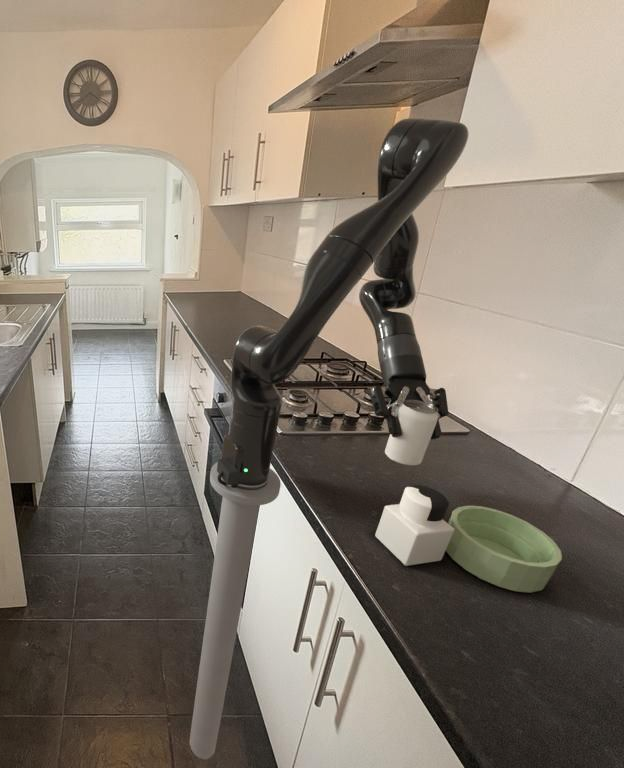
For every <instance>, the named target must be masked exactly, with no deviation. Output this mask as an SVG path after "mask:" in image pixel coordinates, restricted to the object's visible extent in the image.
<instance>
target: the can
mask: <svg viewBox="0 0 624 768" xmlns="http://www.w3.org/2000/svg"><path fill="white" fill-rule="evenodd" d="M437 412H438V409H437V408H436V407H435V406H433V405H431V404H429V403H426V402H423V401H418V400H406V401H404V402H403V405H402V406H401V407H400V408H399V413H398V415H397V417H399V421H400V425H401V430H402V435H401V436H400V437H392V434H390V433H389V437H388V439H387V443H386V445H385V449H384V454H385V456H386V457H387V459H389V460H391V461H393V462H395V463H396V464H399V465H403V466H407V467H416V466H418V465H420V464H421V463H422V462H423V460H424V457H425V454H426V452H427V449H428V447H429V444H430V442H431V440H432V439H431V436H432V434H433V431H434V428H435V425H436V423H437V420H438V415H437Z"/></svg>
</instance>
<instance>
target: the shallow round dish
mask: <svg viewBox="0 0 624 768" xmlns="http://www.w3.org/2000/svg"><path fill="white" fill-rule="evenodd" d="M447 523H448V524H449V525H450V526H452V527H453V528H454V532H453V535H452V537H451V539H450V541H449V544H448V546H447V548H446V551H445V553H446V554H448V556H449V557H450V558H451V559H452V560H453V561H454V563H456V564H457V565H459V566H460V567H462V568H463V569H464V570H465V571H467V572H468V573H470V574H472V575H474V576H475V577H477V578H478V579H480V580H482V581H485V582H486V583H489V584H492V585H494V586H496V587H499V588H501V589H502V588H503V589H505V590H509V591H513V592H519V593H530V594H531V593H535V592H540V591H543V590H544V589H545V587H546V586H547V585H548V583H549V582H550V581H551V579H552V577H553V576H554V573H555V571H556V570H557V569H558V567H559V565H560V564H561V562H562V560H563V555H562V550H561V549H560V548H559V546H558V545H557V543H556V542H555V540H554V539H552V538H551V537H550V536H549V535H547V533H545V532H544V531H542V530H541V529H539V528H538V527H536V526H534V525H533V524H531V523H530V522H528V521H526V520H524V519H521V518H520V517H517V516H515V515H514V514H511V513H507V512H505V511H503V510H502V511H501V510H500V509H495V508H491V507H486V506H483V505H463V506H458V507H456V508H455V509H454V510H452V512H451V514H450V515H449V519H448V521H447Z"/></svg>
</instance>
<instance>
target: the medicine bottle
mask: <svg viewBox="0 0 624 768" xmlns="http://www.w3.org/2000/svg"><path fill="white" fill-rule="evenodd" d="M449 506H450V502H449V500H448V498H447V497H446V496H445V495H444V494H443V493H442V492H440V491H439V490H437V489H434V488H432V487H429V486H427V485H421V484H410V485H408V486H406V487H405V488H404V490H403V493H402V496H401V498H400V502H399V503H398V504H397V503H396V504H388V505H384V507H383V511H382V514H381V516H380V519H379V522H378V525H377V528H376V531H375V534H374V536H375V538H376V539H377V540H378V541H380V543H381V544H383V546H384V547H385V548H387V550H388V551H390V552H391V553H392V554H393V556H394V557H396V559H398V560H399V561H400V562H401V563H402V564H403V565H404V566H406V567H409V566H415V565H420V564H421V565H422V564H428V563H434V562H440V561H442V560H443V558H444V555H445V553H446V548H447V546H448V544H449V541H450V539H451V537H452V535H453V532H454V528H453V527H452V526H450V525H449V524H448V522H447V521H445V520H444V518H445V515H446V513H447V511H448V509H449Z"/></svg>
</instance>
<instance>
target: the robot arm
mask: <svg viewBox="0 0 624 768" xmlns="http://www.w3.org/2000/svg"><path fill="white" fill-rule="evenodd" d="M468 140H469V128H468V127H467V126H466V124H465V123H463V122H459V121H454V120H445V119H444V120H443V119H432V118H430V119H429V118H417V117H411V118H410V117H409V118H408V117H407V118H404V119H401V120H399V121H396V123H395V124H393V126H391V128H390V129H389V130H388V131H387V133H386V135H385V136H384V138H383V140H382V142H381V145H380V148H379V151H378V156H377V162H376V164H377V165H376V183H377V184H376V185H377V187H376V188H377V189H376V190H377V201H376V202H375V203H373V204H370V205H369V206H367V207H365V208H364V209H362V210H360V211H359V212H357V213H354V214H353V215H351V216H349V217H347V218H346V219H344V220H343V221H341V222H340V223H339V224H337V225H336V226H334V227H333V228H332V229H331V230H330V231H329V232H328V234H327V235H326V236H325V237H324V238H323V240H322V241H321V243H320V244H319V245H318V247H317V248H316V249H315V251H313V253H312V254H311V257H310V258H309V260H308V261H307V263H306V265H305V269H304V272H303V275H302V281H301V287H300V292H299V296H298V297H299V298H298V300H297V303H296V305H295V308H294V309H293V310H292V312H291V314H290V315H289V317H288V318H287V319H286V321H285V322H284V324H282V325H281V327H280V328H279V329H278V330H274V329H273V328H270V327H268V326H264V325H253V326H250V327H248V328H246V329H245V330H244V331H242V333H241V334H240V335H239V336H238V339H237V340H236V342H235V345H234V347H233V348H234V349H233V354H232V362H231V363H232V364H231V376H230V391H231V394H232V405H231V411H230V412H231V413H230V421H229V427H228V434H224V436H223V442H222V450H221V458H219V459H217V462H218V465H217V472H218V473H219V475H218V482H219V483H220V484H222V485H224V486H227V485H230V486H231V487H232V488H241V489H245V490H257V489H261V488H263V487H265V486H266V485H267V482H268V475H269V469H271V463H272V459H273V458H272V457H273V452H274V447H275V442H276V437H277V430H278V426H279V421H280V415H281V410H282V404H283V398H282V395H281V393H280V392H279V391H278V389H277V387H276V384H279V383H280V384H281V383H282V382H284V381H286V380H287V379H288V378H289V377H290V376H292V374H294V372H296V370H297V369H298V367H300V365H301V363H302V362H303V361H304V358H305V357H306V356H307V354H308V352H309V351H310V349H311V348H312V346H313V344H314V343H315V342H316V340H317V338H318V336H320V333H321V332H322V330H323V329H324V328H325V326H326V325H327V323H328V322H329V320H330V319H331V318H332V316H333V315H334V314H335V313H336V311H337V310H338V308H339V307H340V305H341V304H342V303H343V301H344V300H345V299H346V298H347V297H348V295H349V293H350V292H352V290H353V289H354V288H355V286H357V284H358V283H359V282H360V280H361V279H362V278H363V277H364V275H365V274H366V273H367V271H368V270H369V269H370V268H371V266H372V265H373V272H374V274H375V276H377V277H379V278H380V279H374V280H368V281H366V282H365V283H364V284H362V286H361V287H360V289H359V294H358V298H359V303H360V305H361V307H362V309H363V311H364V313H365V314H366V316H367V317H368V319H369V321H370V323H371V325H372V327H373V329H374V334H375V340H376V344H377V345H376V346H377V358H378V363H379V364H378V365H379V369H380V375H381V380H382V383H383V384H384V385H383V386H381V385H379V384H375V386H373V387H372V388H370V389H369V390H368V393H369V397H370V400H371V401H370V402H371V404H372V408H373V412H374V415H375V416H377V417H382V418H384V419H385V420H386V424H387V430H388V433H389V435H390V434H392V437H400V436H401V435H402V430H401V425H400V421H399V417H397V415H398V413H399V408H400V407H401V406H402V405H403V402H404V401H406V400H418V401H423V402H426V403H429V404H431V405H433V406H435V407H436V408H437V409H438V412H437V415H438V420H437V423H436V425H435V428H434V431H433V434H432V436H431V439H430V440H437V439H440V437H441V435H442V429H441V425H440V419H442V418H444V417H447V416H449V406H448V400H447V392H446V388H444V387H439V388H431V387H430V386H429V385H428V384H427V373H426V368H425V363H424V359H423V355H422V351H421V347H420V344H419V341H418V339H417V334H416V331H415V326H414V321H413V318H412V316H411V315H409V314H408V313H406V312H399V311H392V310H399V309H404V308H407V307H409V306H410V305H412V304H413V303H414V301H415V299H416V295H417V291H416V284H415V281H414V280H415V279H414V262H415V259H416V255H417V251H418V246H419V241H420V234H419V233H420V232H419V227H418V224H417V221H416V218H415V216H414V212H415V211H416V210H417V208H419V206H421V204H423V202H424V201H425V200H426V199H427V198H428V197H429V195H431V193H432V192H433V191H434V190H435V189H436V188H437V187H438V186H439V185H440V183H442V181H443V180H444V179H445V178H446V177H447V176H448V175H449V173H450V172H451V171H452V170H453V168H454V166H455V165H456V163H457V162H458V161H459V160H460V157H461V156H462V154H463V152H464V150H465V148H466V146H467V143H468ZM385 395H386V396H387V397H388V398H389V401H388V404H387V402H386V400H385ZM428 396H429V397H428ZM221 477H222V479H223V480H224V481H225V482H224V481H222V480H221Z"/></svg>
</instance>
